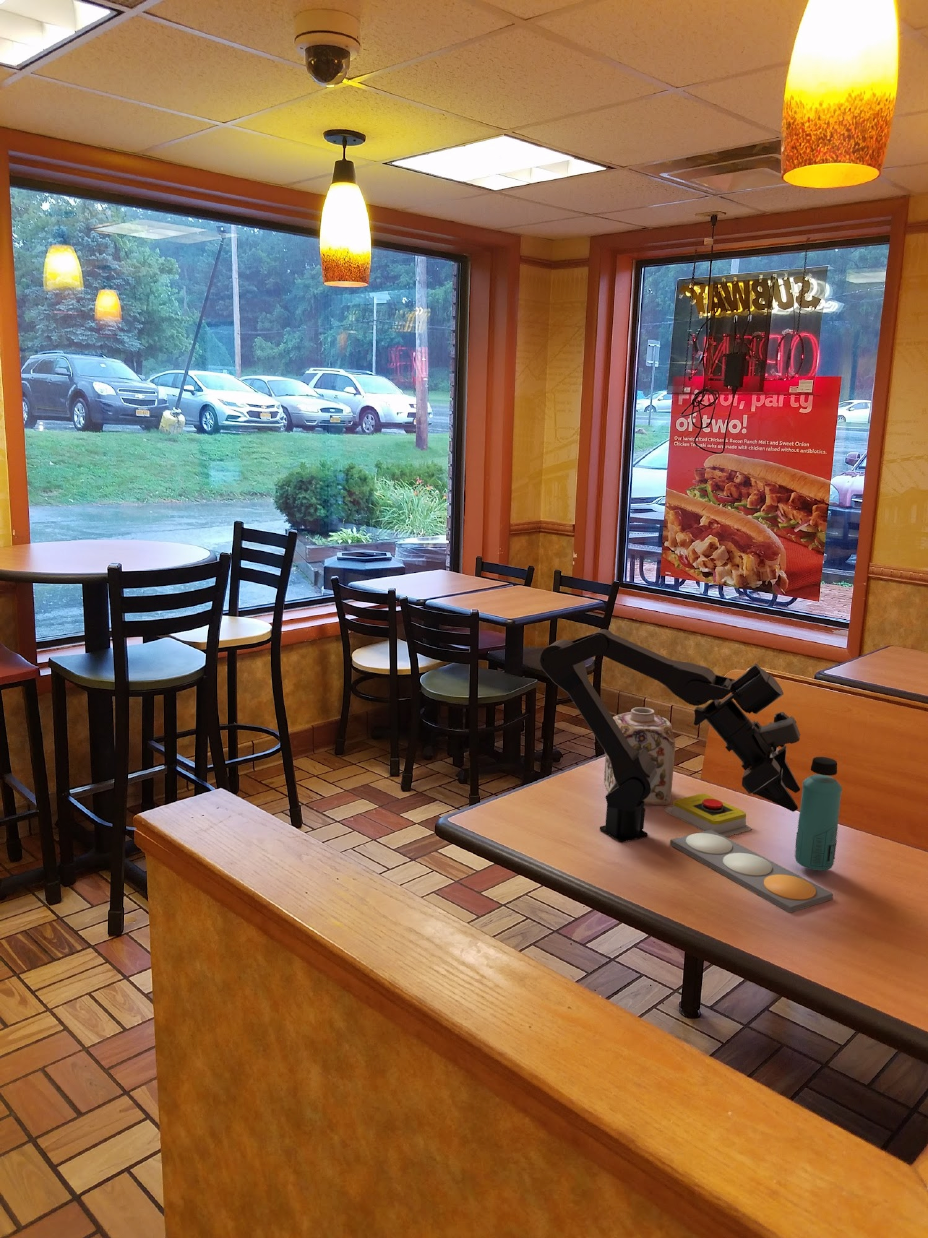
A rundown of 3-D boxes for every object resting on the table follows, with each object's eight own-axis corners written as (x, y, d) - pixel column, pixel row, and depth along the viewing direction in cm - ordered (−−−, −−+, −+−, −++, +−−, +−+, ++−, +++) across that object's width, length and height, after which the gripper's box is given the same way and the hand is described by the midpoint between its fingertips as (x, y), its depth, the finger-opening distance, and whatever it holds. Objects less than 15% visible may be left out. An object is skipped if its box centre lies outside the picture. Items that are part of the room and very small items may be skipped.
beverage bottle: (828, 883, 156) (843, 769, 152) (787, 872, 160) (800, 760, 156) (836, 868, 162) (850, 758, 158) (796, 858, 165) (809, 750, 161)
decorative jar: (671, 806, 186) (678, 719, 183) (612, 805, 186) (619, 717, 182) (657, 784, 198) (664, 702, 194) (602, 782, 198) (608, 700, 194)
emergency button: (721, 819, 171) (663, 791, 184) (719, 841, 172) (661, 812, 184) (756, 810, 176) (697, 783, 188) (753, 831, 177) (695, 804, 189)
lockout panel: (789, 913, 146) (790, 905, 145) (669, 844, 168) (670, 838, 168) (832, 899, 151) (833, 891, 150) (710, 834, 173) (711, 828, 173)
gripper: (769, 716, 150) (836, 793, 148) (777, 688, 167) (836, 757, 165) (715, 755, 154) (779, 830, 152) (727, 724, 171) (785, 792, 169)
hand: (797, 800), depth 160 cm, fingers open, 9 cm apart
